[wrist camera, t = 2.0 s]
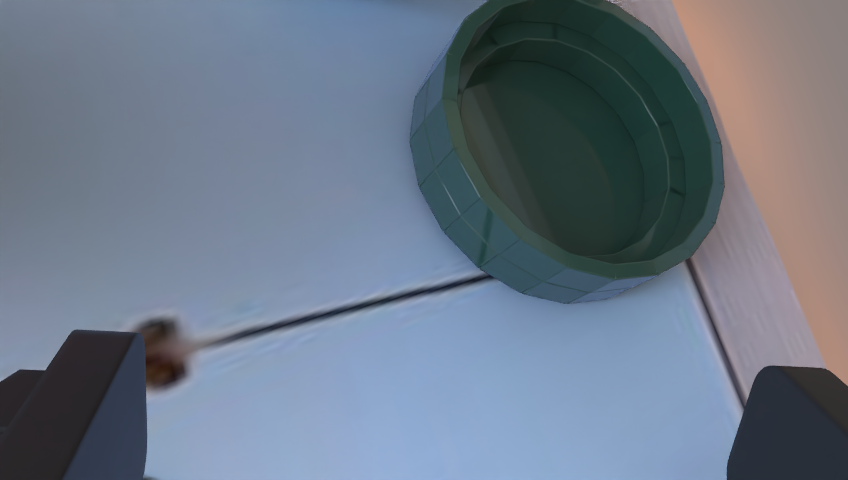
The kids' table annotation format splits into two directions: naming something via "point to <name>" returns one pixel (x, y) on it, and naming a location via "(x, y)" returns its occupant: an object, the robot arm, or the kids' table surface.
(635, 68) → the bowl
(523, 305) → the kids' table surface
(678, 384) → the kids' table surface
